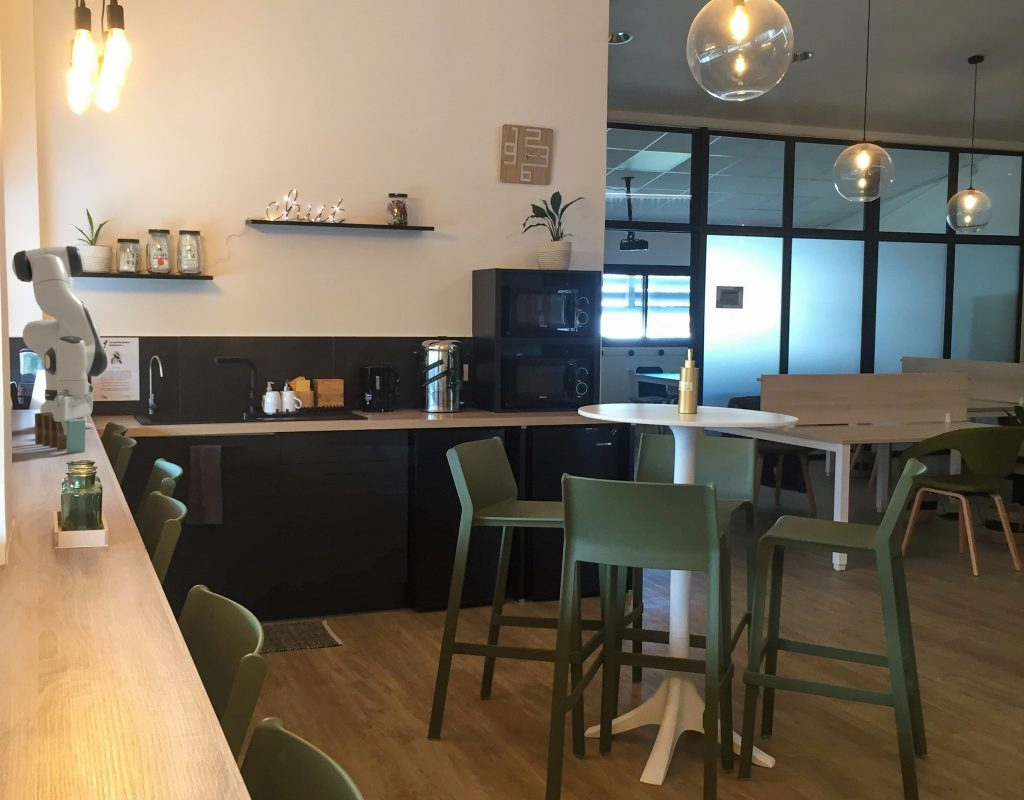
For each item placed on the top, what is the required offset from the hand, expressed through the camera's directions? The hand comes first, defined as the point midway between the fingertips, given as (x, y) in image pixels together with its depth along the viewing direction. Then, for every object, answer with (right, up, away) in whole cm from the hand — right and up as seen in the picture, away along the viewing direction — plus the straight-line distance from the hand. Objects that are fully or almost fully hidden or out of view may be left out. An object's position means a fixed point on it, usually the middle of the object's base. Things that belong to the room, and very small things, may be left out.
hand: (73, 432), depth 318 cm
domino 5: (+2, -6, -4) cm, 7 cm away
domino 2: (-11, -4, +9) cm, 15 cm away
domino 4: (-4, -5, +4) cm, 7 cm away
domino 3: (-8, -5, +6) cm, 11 cm away
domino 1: (-15, -4, +12) cm, 19 cm away
